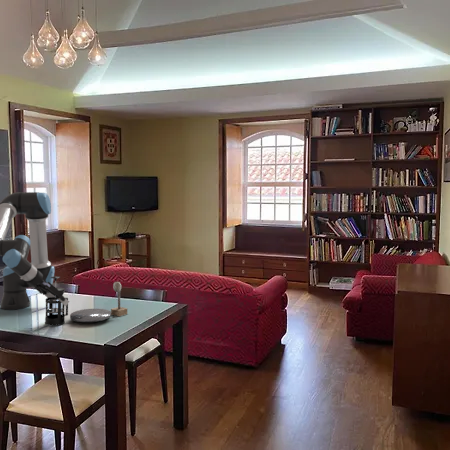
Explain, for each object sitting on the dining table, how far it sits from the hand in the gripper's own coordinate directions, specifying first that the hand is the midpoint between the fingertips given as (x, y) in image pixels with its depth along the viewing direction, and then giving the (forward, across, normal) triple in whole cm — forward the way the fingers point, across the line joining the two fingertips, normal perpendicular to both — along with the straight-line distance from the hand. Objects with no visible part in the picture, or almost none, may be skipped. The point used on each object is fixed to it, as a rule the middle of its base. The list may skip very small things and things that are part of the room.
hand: (61, 302), depth 234 cm
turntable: (+13, +9, +2) cm, 16 cm away
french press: (+5, 0, -9) cm, 10 cm away
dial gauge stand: (+26, +12, +12) cm, 31 cm away
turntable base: (+15, +9, +1) cm, 17 cm away
